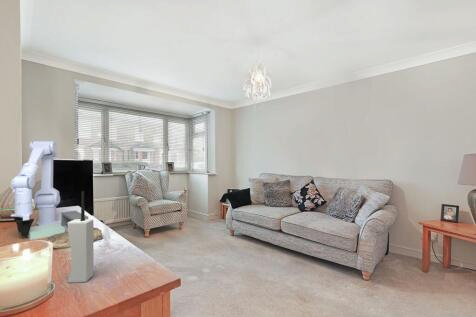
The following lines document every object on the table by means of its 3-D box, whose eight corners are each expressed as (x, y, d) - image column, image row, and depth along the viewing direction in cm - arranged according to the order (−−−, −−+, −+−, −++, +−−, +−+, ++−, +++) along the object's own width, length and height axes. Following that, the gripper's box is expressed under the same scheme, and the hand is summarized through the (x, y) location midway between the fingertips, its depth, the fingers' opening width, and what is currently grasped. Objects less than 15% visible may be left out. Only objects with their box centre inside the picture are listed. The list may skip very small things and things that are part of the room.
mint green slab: (25, 234, 107) (25, 228, 107) (57, 228, 116) (57, 222, 116) (30, 241, 98) (30, 234, 98) (64, 234, 107) (64, 227, 107)
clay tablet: (44, 254, 84) (106, 240, 98) (44, 241, 84) (105, 228, 98) (40, 245, 94) (96, 233, 108) (40, 233, 94) (96, 222, 108)
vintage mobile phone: (75, 276, 68) (75, 190, 68) (93, 275, 68) (93, 190, 68) (67, 283, 64) (67, 192, 64) (86, 282, 64) (86, 192, 64)
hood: (61, 224, 121) (61, 212, 121) (75, 222, 125) (75, 210, 125) (73, 233, 107) (73, 219, 107) (88, 230, 112) (88, 216, 112)
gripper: (8, 202, 104) (8, 232, 104) (12, 206, 94) (13, 240, 94) (29, 200, 109) (29, 229, 109) (35, 204, 100) (35, 235, 100)
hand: (23, 234), depth 102 cm, fingers open, 7 cm apart
